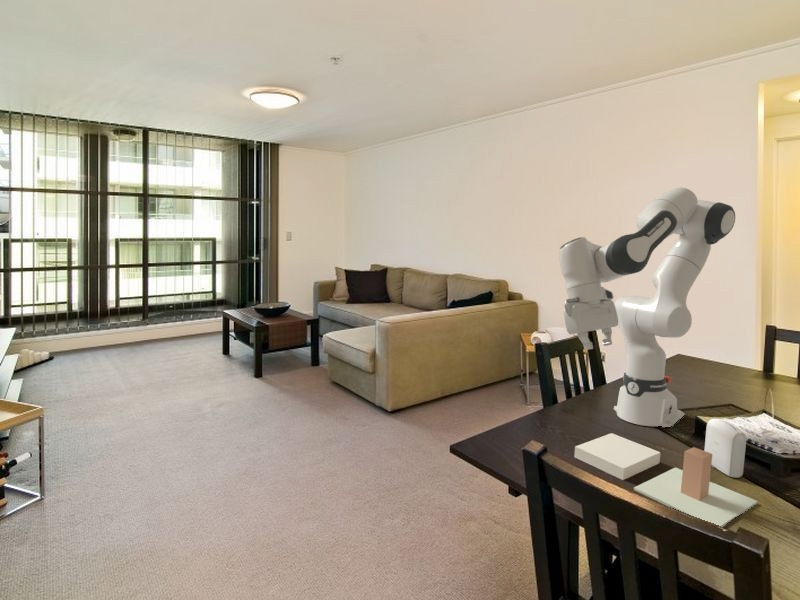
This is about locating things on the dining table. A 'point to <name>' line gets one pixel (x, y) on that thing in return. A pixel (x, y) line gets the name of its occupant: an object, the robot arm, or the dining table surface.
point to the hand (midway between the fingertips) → (598, 347)
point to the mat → (711, 508)
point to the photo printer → (726, 447)
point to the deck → (617, 455)
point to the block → (696, 473)
